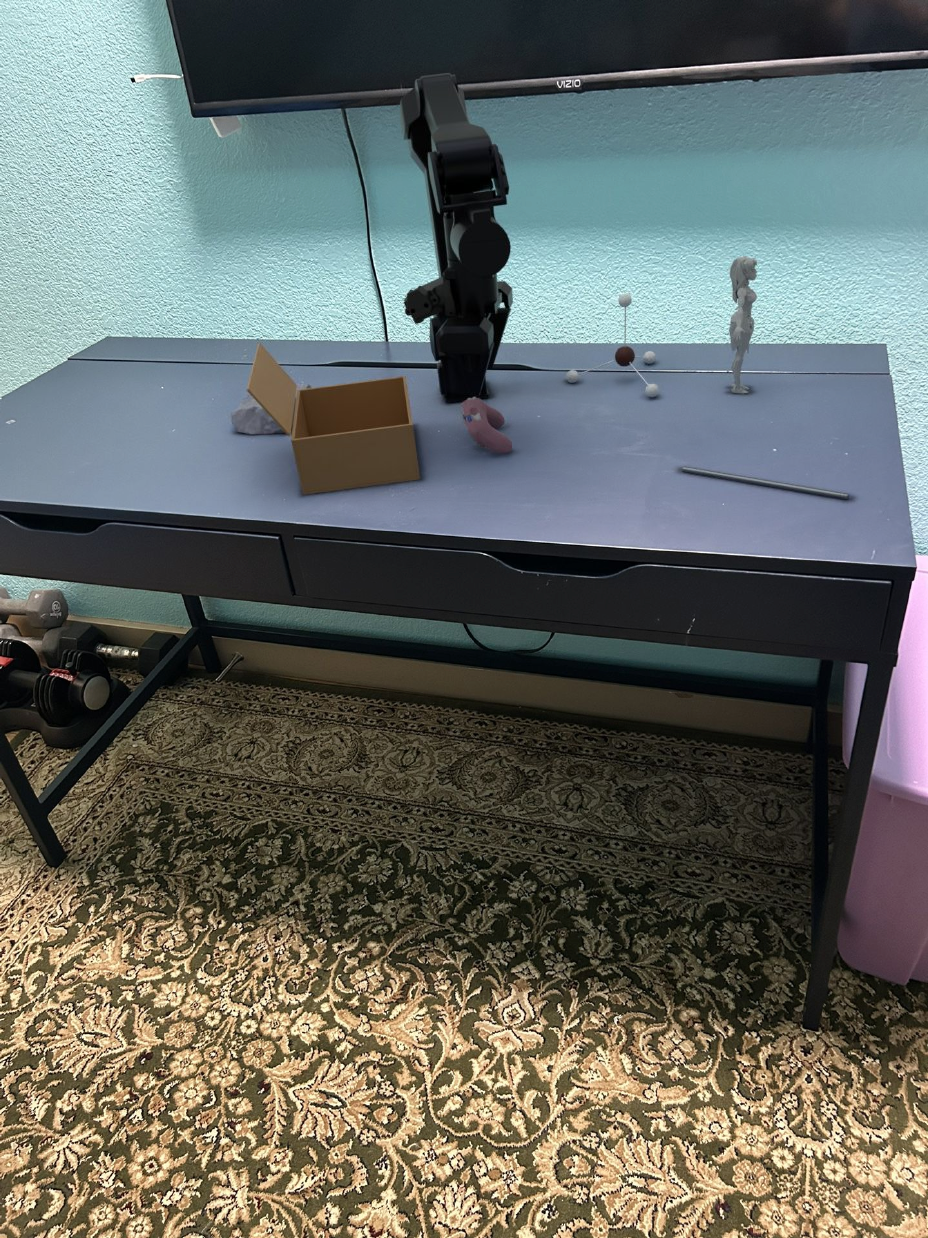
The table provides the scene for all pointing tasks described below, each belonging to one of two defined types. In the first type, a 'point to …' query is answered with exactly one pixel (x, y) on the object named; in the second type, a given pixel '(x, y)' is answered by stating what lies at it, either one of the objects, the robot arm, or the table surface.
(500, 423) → the video game controller
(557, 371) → the table surface
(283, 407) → the flap
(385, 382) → the carton
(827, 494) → the rod
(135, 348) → the table surface
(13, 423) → the table surface
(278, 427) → the stone block
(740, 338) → the human figurine
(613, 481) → the table surface
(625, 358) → the molecular model
